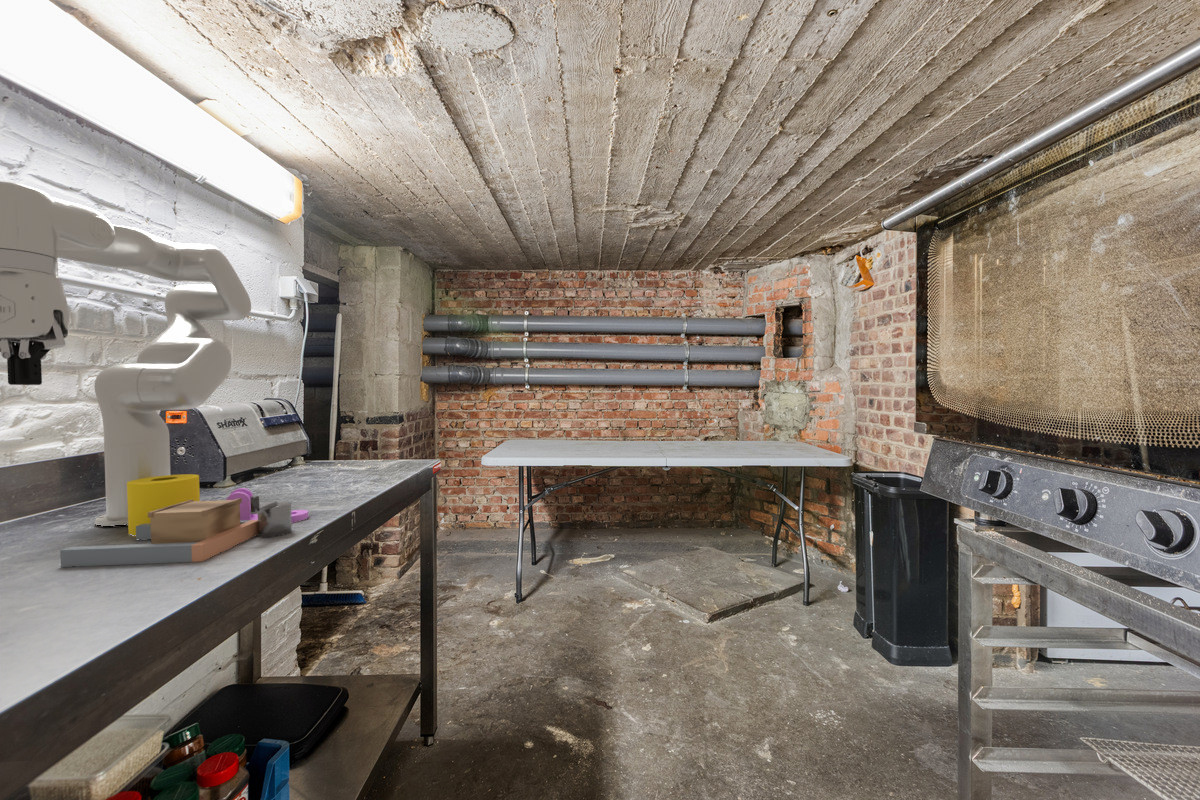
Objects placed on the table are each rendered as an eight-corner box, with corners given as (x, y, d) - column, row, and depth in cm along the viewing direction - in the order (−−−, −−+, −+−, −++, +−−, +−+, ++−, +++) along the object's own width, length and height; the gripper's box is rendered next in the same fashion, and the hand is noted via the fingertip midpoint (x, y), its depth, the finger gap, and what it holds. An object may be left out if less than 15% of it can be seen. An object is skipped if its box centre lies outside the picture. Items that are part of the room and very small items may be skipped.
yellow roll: (203, 518, 96) (202, 472, 96) (196, 530, 88) (195, 479, 88) (135, 526, 91) (134, 478, 90) (121, 540, 82) (120, 486, 82)
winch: (269, 529, 88) (268, 487, 87) (297, 528, 88) (296, 486, 88) (237, 544, 79) (236, 498, 79) (269, 543, 80) (268, 497, 79)
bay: (143, 537, 83) (143, 523, 83) (260, 533, 85) (260, 519, 85) (60, 567, 69) (60, 550, 69) (202, 561, 71) (202, 544, 71)
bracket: (225, 531, 87) (224, 494, 87) (230, 524, 92) (229, 489, 92) (308, 521, 94) (307, 486, 93) (308, 515, 98) (307, 481, 98)
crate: (191, 541, 82) (189, 499, 81) (242, 539, 82) (241, 498, 82) (149, 558, 73) (147, 512, 73) (207, 556, 74) (205, 510, 74)
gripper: (-64, 260, 69) (-60, 385, 70) (48, 261, 71) (52, 383, 71) (-4, 272, 77) (0, 385, 77) (96, 273, 78) (100, 384, 78)
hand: (25, 384), depth 74 cm, fingers closed
